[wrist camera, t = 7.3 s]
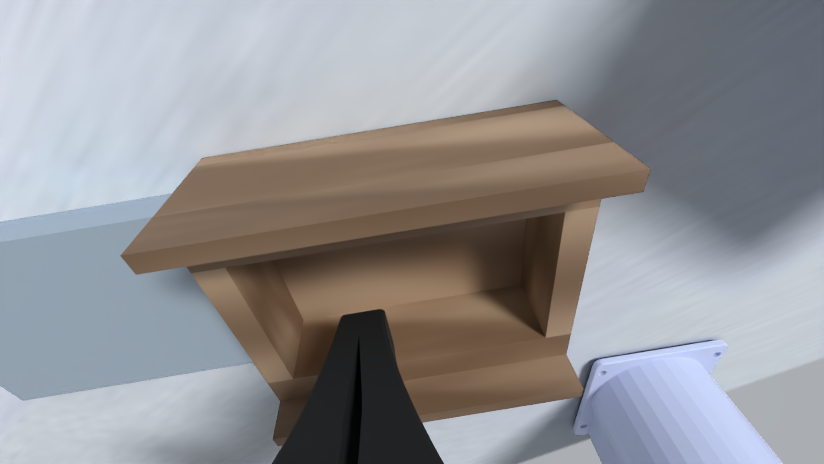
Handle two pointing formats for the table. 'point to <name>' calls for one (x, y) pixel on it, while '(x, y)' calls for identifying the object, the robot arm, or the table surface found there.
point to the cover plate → (99, 306)
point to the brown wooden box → (403, 251)
